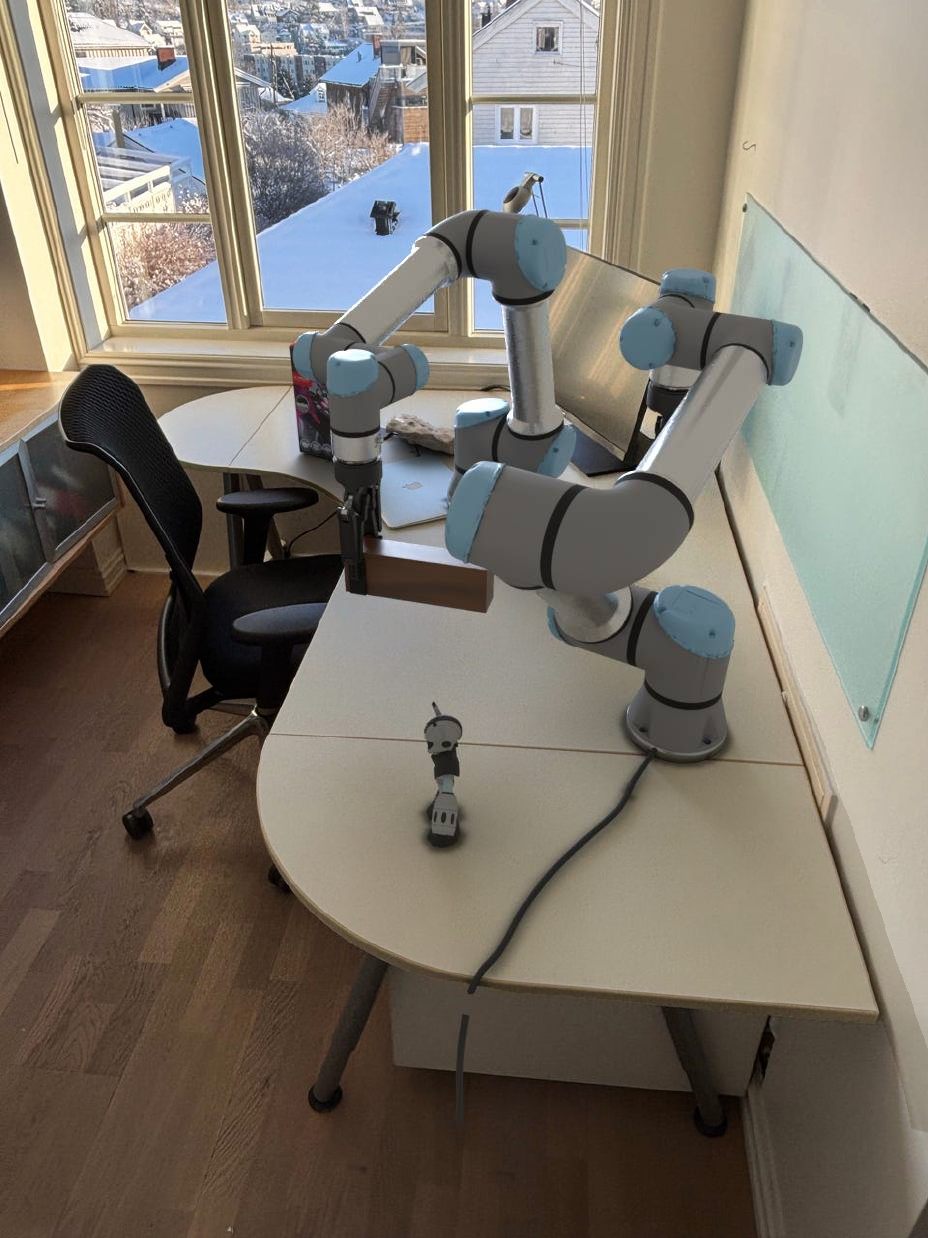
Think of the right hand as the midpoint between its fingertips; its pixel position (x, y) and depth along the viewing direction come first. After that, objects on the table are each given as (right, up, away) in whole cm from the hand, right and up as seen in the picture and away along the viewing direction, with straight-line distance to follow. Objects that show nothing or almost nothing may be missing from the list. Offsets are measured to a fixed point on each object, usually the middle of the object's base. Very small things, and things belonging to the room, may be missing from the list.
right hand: (656, 512), depth 146 cm
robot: (-33, -45, -20) cm, 60 cm away
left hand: (-47, -11, +8) cm, 49 cm away
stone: (-41, +28, +89) cm, 102 cm away
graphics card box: (-63, +24, +82) cm, 106 cm away
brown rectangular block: (-38, -13, +6) cm, 41 cm away
